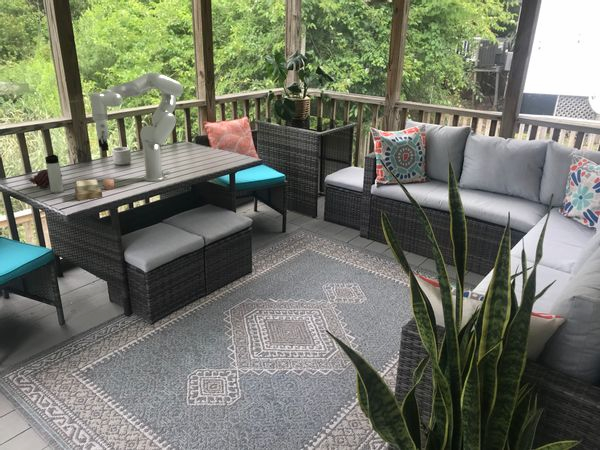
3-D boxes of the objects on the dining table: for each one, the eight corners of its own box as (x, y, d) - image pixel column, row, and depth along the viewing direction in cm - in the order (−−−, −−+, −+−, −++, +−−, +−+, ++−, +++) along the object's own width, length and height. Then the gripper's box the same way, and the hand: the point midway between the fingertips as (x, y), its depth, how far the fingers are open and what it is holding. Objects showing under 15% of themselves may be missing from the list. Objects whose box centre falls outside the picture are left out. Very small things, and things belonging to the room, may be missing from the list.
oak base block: (99, 192, 267) (98, 185, 265) (102, 198, 257) (101, 191, 255) (75, 195, 261) (74, 188, 260) (78, 201, 251) (77, 194, 250)
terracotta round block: (113, 186, 275) (112, 177, 273) (115, 189, 271) (114, 180, 269) (103, 187, 273) (102, 179, 271) (105, 190, 268) (103, 181, 266)
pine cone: (59, 181, 281) (56, 164, 277) (67, 185, 275) (65, 168, 271) (27, 188, 268) (24, 170, 264) (35, 192, 262) (32, 174, 258)
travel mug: (66, 190, 267) (60, 154, 259) (61, 193, 261) (54, 157, 253) (54, 189, 266) (48, 154, 259) (49, 193, 260) (42, 157, 253)
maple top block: (97, 186, 264) (96, 179, 262) (98, 191, 255) (97, 184, 254) (77, 188, 260) (76, 181, 258) (78, 193, 251) (77, 186, 250)
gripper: (110, 119, 251) (114, 151, 258) (104, 114, 265) (108, 144, 272) (94, 120, 248) (99, 152, 254) (90, 114, 262) (94, 146, 268)
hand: (103, 148), depth 263 cm, fingers open, 9 cm apart
